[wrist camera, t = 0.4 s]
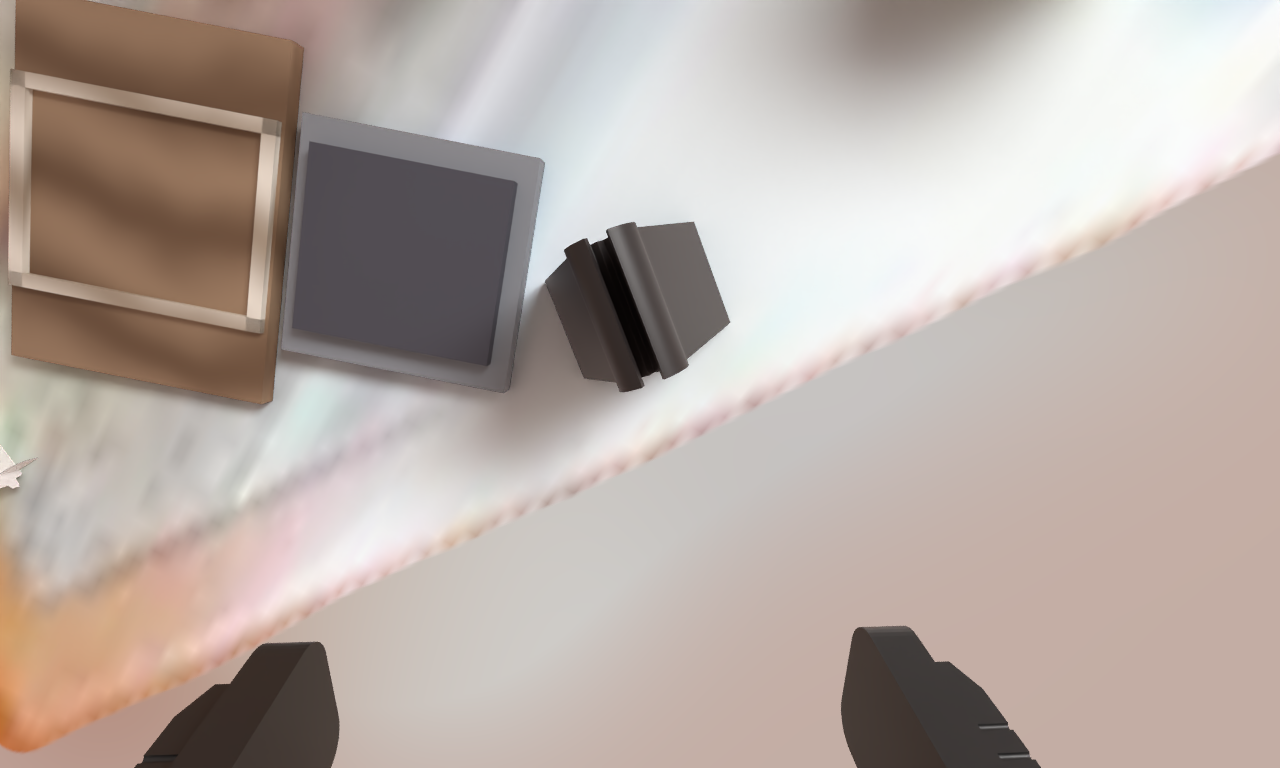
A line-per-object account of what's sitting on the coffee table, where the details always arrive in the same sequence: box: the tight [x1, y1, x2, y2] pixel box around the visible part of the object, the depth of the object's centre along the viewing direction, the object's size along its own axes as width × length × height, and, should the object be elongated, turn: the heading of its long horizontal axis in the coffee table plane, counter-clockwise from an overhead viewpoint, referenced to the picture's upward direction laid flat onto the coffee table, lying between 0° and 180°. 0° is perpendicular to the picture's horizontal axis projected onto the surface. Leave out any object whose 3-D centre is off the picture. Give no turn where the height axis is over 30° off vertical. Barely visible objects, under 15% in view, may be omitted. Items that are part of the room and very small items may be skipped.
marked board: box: [8, 0, 304, 404], centre depth 33 cm, size 20×15×1 cm
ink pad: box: [281, 112, 545, 393], centre depth 33 cm, size 13×13×2 cm
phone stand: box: [545, 222, 730, 392], centre depth 28 cm, size 9×6×12 cm, turn 111°
